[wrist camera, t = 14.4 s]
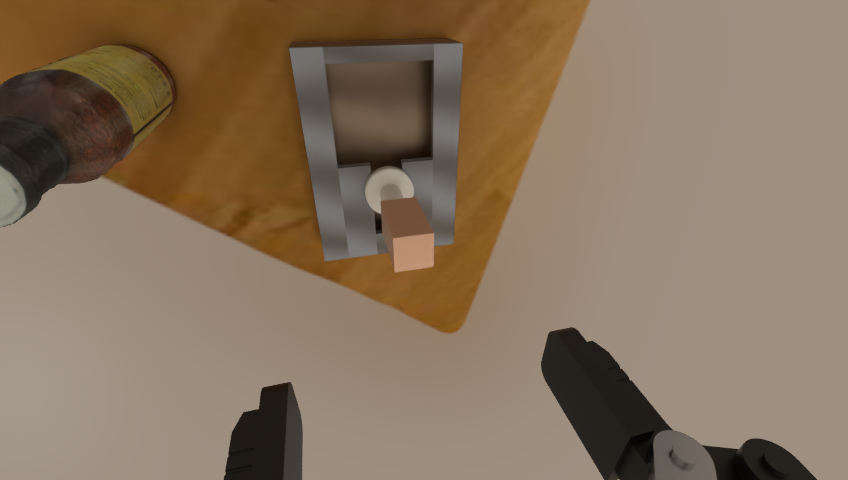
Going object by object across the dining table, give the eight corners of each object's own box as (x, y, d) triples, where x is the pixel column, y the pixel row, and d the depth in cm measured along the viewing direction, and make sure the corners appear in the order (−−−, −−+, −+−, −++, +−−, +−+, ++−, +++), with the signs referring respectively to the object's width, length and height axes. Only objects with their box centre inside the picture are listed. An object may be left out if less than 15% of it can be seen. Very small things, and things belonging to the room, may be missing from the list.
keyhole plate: (291, 42, 33) (289, 48, 30) (447, 38, 36) (463, 43, 32) (323, 238, 44) (325, 261, 40) (441, 223, 47) (453, 243, 43)
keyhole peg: (362, 168, 36) (380, 229, 27) (410, 163, 37) (445, 222, 28) (366, 211, 38) (384, 282, 29) (411, 206, 39) (443, 273, 30)
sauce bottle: (93, 28, 30) (-169, 69, 14) (185, 63, 32) (58, 133, 16) (87, 109, 32) (-139, 225, 16) (172, 135, 35) (53, 259, 19)
